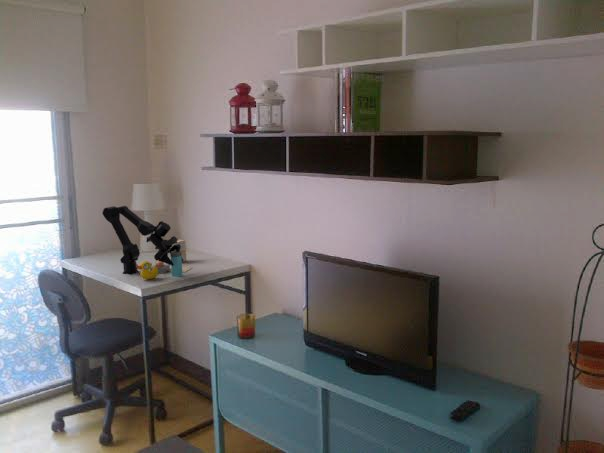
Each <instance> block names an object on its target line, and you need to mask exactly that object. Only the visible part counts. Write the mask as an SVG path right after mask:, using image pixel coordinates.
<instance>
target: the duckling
mask: <svg viewBox="0 0 604 453" xmlns="http://www.w3.org/2000/svg"><path fill="white" fill-rule="evenodd" d="M152 266H154V265H153V263H151V262H149V261H145V260H144V261H142V262H141V263H140V265H139V264H137V265H136V267H137V270H138V271H139V270H140V271H141V272H140V277H141V278H142V279H143V280H146V281H149V280H153V279H155V278H156V277H157V276H158V275H159V273H158V268H157V267H156V266H154V267H153V269H152V271H150V268H151V267H152Z"/></svg>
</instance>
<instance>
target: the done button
mask: <svg viewBox="0 0 604 453" xmlns="http://www.w3.org/2000/svg"><path fill="white" fill-rule="evenodd" d="M164 264H165V263H164V262H161V261H156V260H155V265H156V267H163V266H164Z"/></svg>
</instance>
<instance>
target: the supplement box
mask: <svg viewBox="0 0 604 453" xmlns="http://www.w3.org/2000/svg"><path fill="white" fill-rule="evenodd" d="M175 244H179V245H180V246H181V249H180V252H181V254H182V259H183V262H182V263H184V262H187V250H186V249H187V248H186V240H185V239H178V240H177V243H175ZM175 244H173V245H175ZM172 247H173V246H172ZM172 247H171V248H172Z"/></svg>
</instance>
